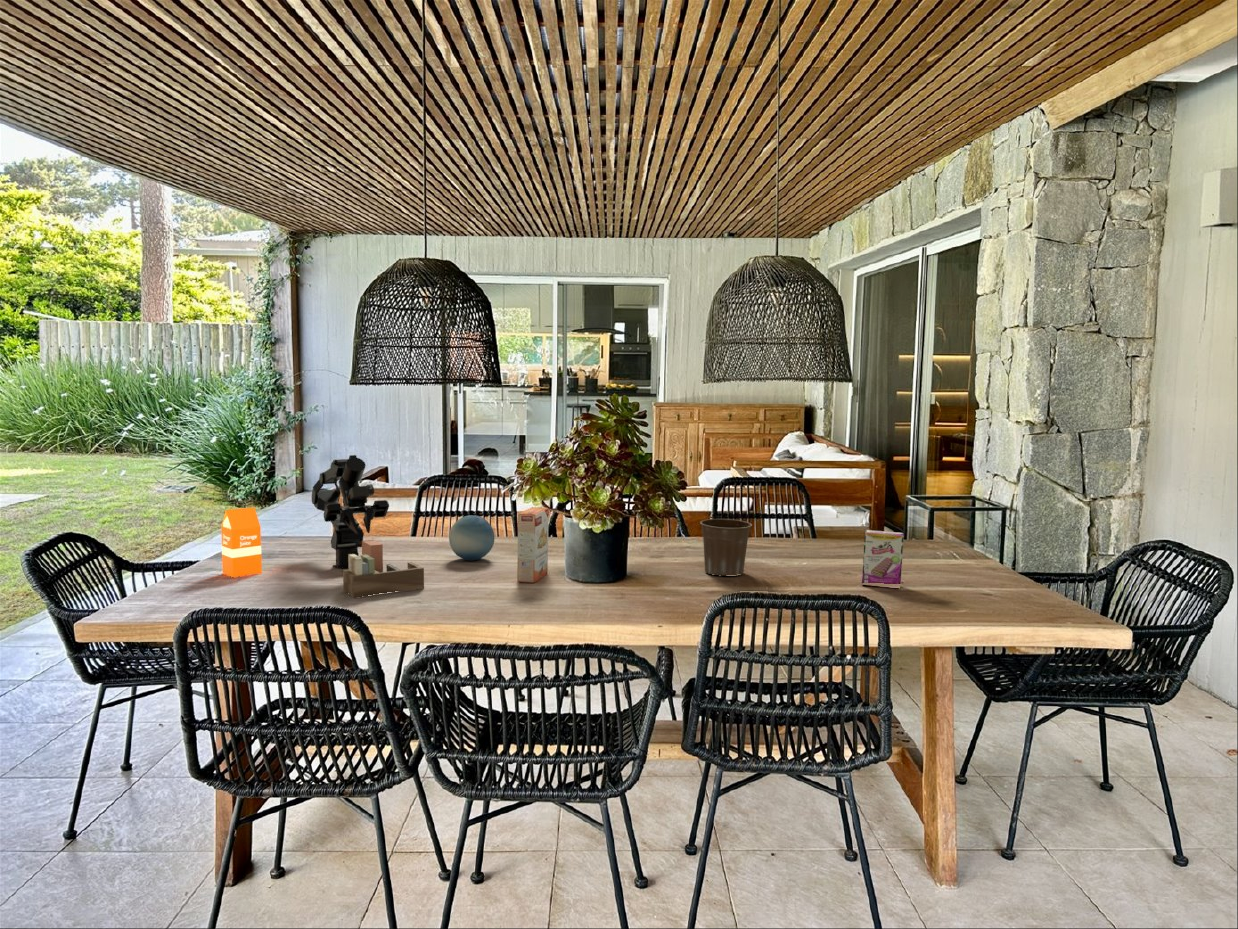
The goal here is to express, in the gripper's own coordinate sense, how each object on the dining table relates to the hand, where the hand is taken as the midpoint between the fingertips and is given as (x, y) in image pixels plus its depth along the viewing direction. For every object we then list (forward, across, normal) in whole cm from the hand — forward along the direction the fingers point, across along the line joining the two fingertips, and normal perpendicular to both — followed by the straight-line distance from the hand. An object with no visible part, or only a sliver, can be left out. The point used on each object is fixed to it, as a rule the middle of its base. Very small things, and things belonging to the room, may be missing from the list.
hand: (363, 532), depth 246 cm
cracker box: (+29, +43, -10) cm, 53 cm away
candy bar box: (+74, +126, -55) cm, 156 cm away
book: (+15, 0, +4) cm, 16 cm away
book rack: (+22, 0, -3) cm, 22 cm away
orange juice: (-7, -30, +27) cm, 41 cm away
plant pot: (+48, +97, -28) cm, 112 cm away
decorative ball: (+6, +38, +13) cm, 41 cm away
